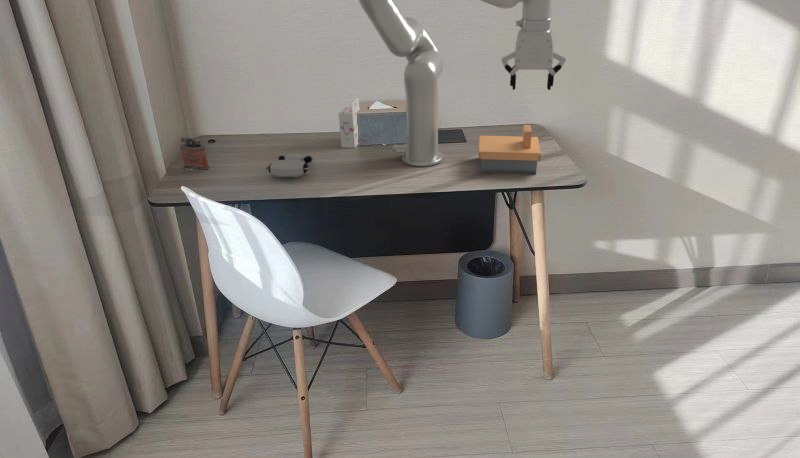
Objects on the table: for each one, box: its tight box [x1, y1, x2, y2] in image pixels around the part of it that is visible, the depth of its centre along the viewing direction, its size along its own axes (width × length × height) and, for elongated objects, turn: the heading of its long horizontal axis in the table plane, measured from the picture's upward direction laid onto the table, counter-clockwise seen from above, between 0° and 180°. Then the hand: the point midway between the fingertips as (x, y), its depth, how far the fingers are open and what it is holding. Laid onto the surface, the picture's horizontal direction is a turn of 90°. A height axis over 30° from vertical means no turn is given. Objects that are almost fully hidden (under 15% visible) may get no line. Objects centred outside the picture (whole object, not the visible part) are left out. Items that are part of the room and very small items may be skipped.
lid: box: [478, 124, 542, 162], centre depth 178 cm, size 17×13×7 cm
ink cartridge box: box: [338, 97, 361, 149], centre depth 198 cm, size 9×5×15 cm, turn 168°
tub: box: [480, 159, 538, 175], centre depth 180 cm, size 16×12×6 cm
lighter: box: [179, 136, 210, 171], centre depth 183 cm, size 8×3×10 cm, turn 74°
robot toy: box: [263, 153, 315, 179], centre depth 180 cm, size 12×4×15 cm
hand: (531, 88), depth 170 cm, fingers open, 9 cm apart
